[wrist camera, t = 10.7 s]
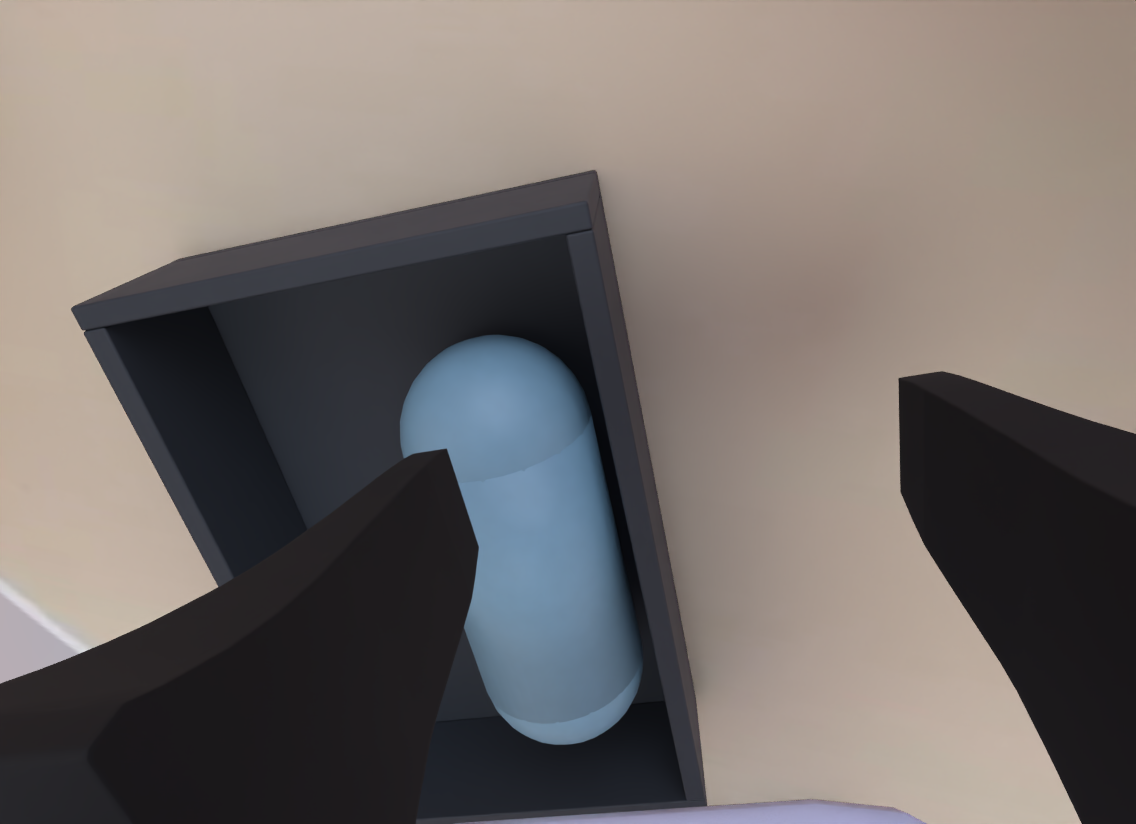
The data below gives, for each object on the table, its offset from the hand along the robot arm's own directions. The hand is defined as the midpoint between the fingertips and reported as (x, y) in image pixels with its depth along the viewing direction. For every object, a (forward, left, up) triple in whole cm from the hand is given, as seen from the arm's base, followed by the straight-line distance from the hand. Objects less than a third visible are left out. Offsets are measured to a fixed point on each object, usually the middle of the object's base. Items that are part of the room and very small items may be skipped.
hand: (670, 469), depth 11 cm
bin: (-6, +7, -9) cm, 13 cm away
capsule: (-6, +7, -8) cm, 12 cm away
